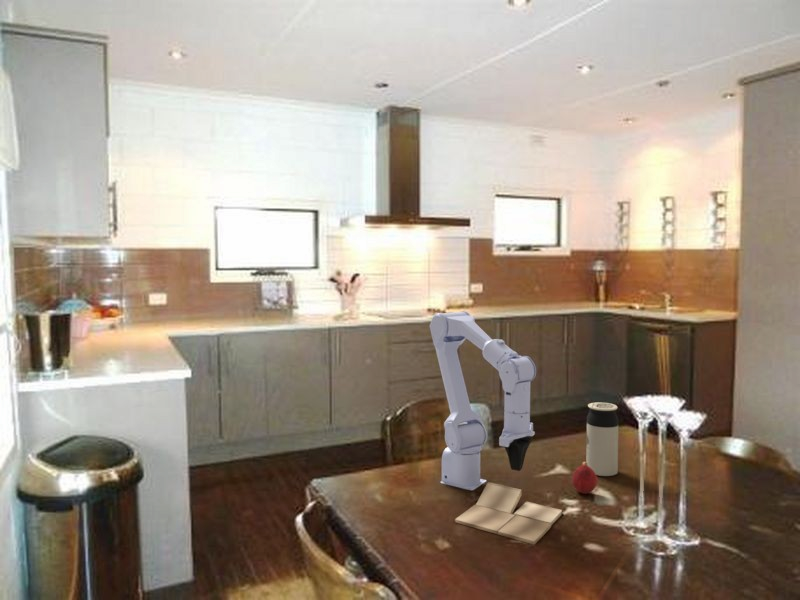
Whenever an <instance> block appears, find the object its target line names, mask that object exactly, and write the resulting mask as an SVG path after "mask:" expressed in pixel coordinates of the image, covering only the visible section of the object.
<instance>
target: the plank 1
mask: <svg viewBox="0 0 800 600" xmlns="http://www.w3.org/2000/svg"><path fill="white" fill-rule="evenodd" d="M522 494H523V491H522V489H520V488H516V487H512V486H507V485H502V484H499V483H494V482H489V481H488V482H486V485H485V487H484V488H483V491H482V493H481V494H480V496H479V498H478V500H477V502H476V503H475V505H479V506H482V507H486V508H490V509H494V510H498V511H502V512H506V513H510V514H513V515H514V513H515V509H516V508H517V505H518V503H519V501H520V499H521V497H522Z"/></svg>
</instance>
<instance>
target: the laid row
mask: <svg viewBox="0 0 800 600" xmlns="http://www.w3.org/2000/svg"><path fill="white" fill-rule="evenodd" d="M454 523H457V524H460V525H463V526H467V527H470V528H475V529H476V530H477V529H478V530H481V531H485V532H489V533H492V534H495V535H499V536H502V537H505V538H510V539H512V540H513V539H514V540H516V541H521V542H524V543H527V544H530V545H534V546H535V545H536V544H537V542H538V541H540V539H542V537H544V535H545V534H546V533H547V532H548V531H549V530H550V529H551V528H552V525H551V524H548V523H545V522H541V521H537V520H533V519H529V518H525V517H521V516H517V515H514V513H513V514H510V513H506V512H502V511H498V510H494V509H490V508H486V507H482V506H479V505H476V504H474V505H472V506H471V507H470V508H468V509H467V510H465V511H464V512H463V513H461V514H460V515H458V517H456V518H455V519H454Z"/></svg>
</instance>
